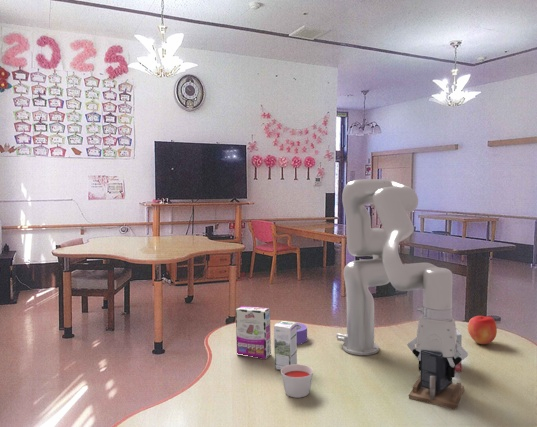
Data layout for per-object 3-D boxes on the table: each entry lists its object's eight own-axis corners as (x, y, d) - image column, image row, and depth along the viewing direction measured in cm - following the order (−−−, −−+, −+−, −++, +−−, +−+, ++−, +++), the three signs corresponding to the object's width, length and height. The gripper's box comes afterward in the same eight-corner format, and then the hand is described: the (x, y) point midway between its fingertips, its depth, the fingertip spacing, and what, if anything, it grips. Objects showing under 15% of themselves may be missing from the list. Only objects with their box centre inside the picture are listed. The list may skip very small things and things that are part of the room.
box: (433, 377, 129) (433, 342, 128) (452, 384, 125) (453, 347, 124) (419, 386, 123) (420, 349, 123) (439, 393, 119) (440, 355, 118)
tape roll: (278, 334, 176) (278, 321, 175) (308, 335, 174) (307, 322, 174) (274, 344, 164) (274, 331, 164) (306, 346, 163) (306, 332, 162)
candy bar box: (271, 354, 154) (270, 307, 153) (266, 359, 150) (265, 311, 149) (242, 350, 159) (241, 305, 158) (236, 355, 154) (235, 308, 153)
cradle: (408, 398, 122) (408, 373, 121) (420, 380, 133) (420, 357, 132) (456, 409, 115) (456, 382, 115) (463, 389, 126) (464, 365, 126)
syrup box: (297, 365, 144) (297, 321, 143) (290, 373, 139) (290, 327, 138) (281, 363, 147) (280, 319, 146) (274, 370, 141) (273, 325, 141)
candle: (304, 403, 120) (303, 380, 120) (275, 395, 125) (274, 373, 124) (318, 389, 128) (318, 368, 127) (291, 382, 132) (290, 361, 132)
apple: (498, 341, 163) (498, 314, 163) (495, 349, 155) (495, 321, 155) (469, 337, 168) (469, 311, 168) (465, 344, 160) (465, 317, 160)
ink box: (461, 372, 137) (462, 335, 137) (445, 371, 138) (445, 334, 138) (456, 361, 146) (456, 326, 145) (440, 360, 147) (440, 325, 146)
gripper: (401, 312, 124) (401, 374, 125) (469, 321, 115) (468, 389, 116) (408, 305, 130) (408, 365, 132) (473, 314, 121) (472, 378, 122)
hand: (436, 375), depth 124 cm, fingers closed on box, 6 cm apart
